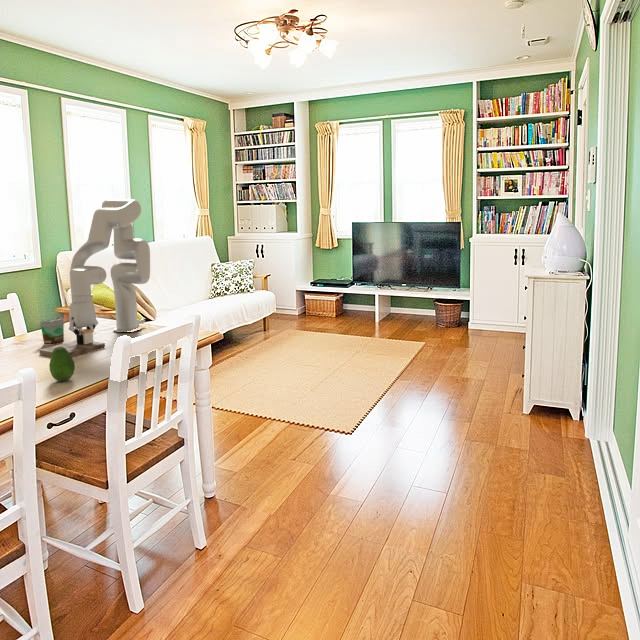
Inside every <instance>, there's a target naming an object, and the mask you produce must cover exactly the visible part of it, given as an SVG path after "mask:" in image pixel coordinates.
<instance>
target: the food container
mask: <svg viewBox="0 0 640 640" xmlns="http://www.w3.org/2000/svg"><path fill="white" fill-rule="evenodd" d="M65 324H66V320H65V319H64V317H63V316H56V318H55V319H50V320H47V321H40V323H39V327H40V328H41V334H42V339H43V345H44V344H51V345H58V344H63V342H64V341H65V339H64V338H65V337H64V336H65V334H64V333H65V330H64V328H65V327H64V326H65ZM57 343H58V344H57Z"/></svg>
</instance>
